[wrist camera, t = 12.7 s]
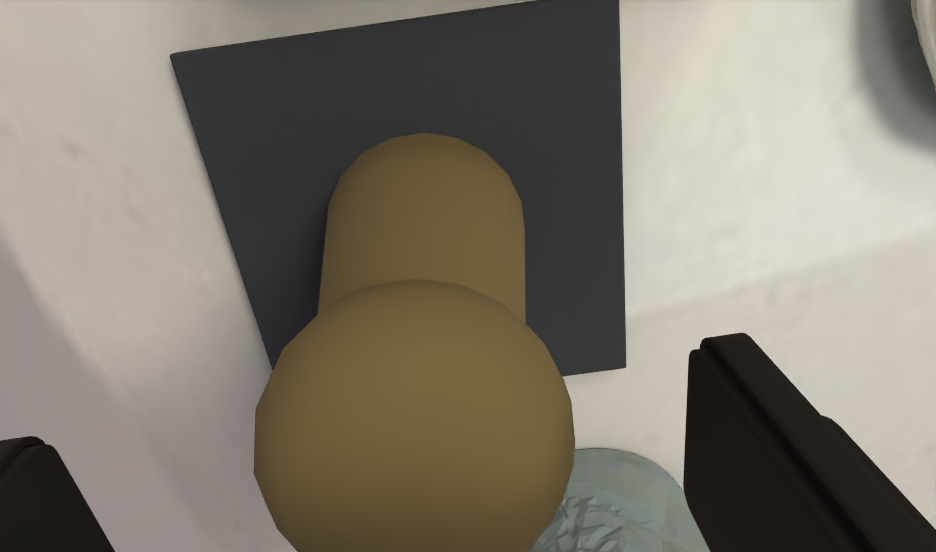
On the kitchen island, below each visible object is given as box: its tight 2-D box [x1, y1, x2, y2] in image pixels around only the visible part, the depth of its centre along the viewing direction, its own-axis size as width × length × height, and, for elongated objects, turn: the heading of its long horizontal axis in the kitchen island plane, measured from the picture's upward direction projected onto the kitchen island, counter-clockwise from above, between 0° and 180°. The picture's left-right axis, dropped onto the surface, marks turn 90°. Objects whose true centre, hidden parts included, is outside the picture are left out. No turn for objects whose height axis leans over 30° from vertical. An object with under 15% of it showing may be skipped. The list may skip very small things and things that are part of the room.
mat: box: [170, 0, 626, 376], centre depth 19 cm, size 12×12×1 cm
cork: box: [254, 133, 575, 552], centre depth 13 cm, size 6×6×11 cm
